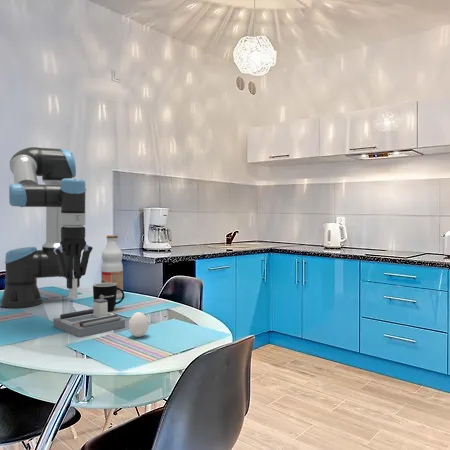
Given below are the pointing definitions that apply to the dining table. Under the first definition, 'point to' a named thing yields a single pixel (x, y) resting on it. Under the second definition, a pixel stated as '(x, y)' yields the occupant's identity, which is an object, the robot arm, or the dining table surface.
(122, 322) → the grey compartment tray
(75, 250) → the robot arm
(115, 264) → the fruit juice
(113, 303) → the mug
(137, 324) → the egg
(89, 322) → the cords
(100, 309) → the light grey boxy piece
